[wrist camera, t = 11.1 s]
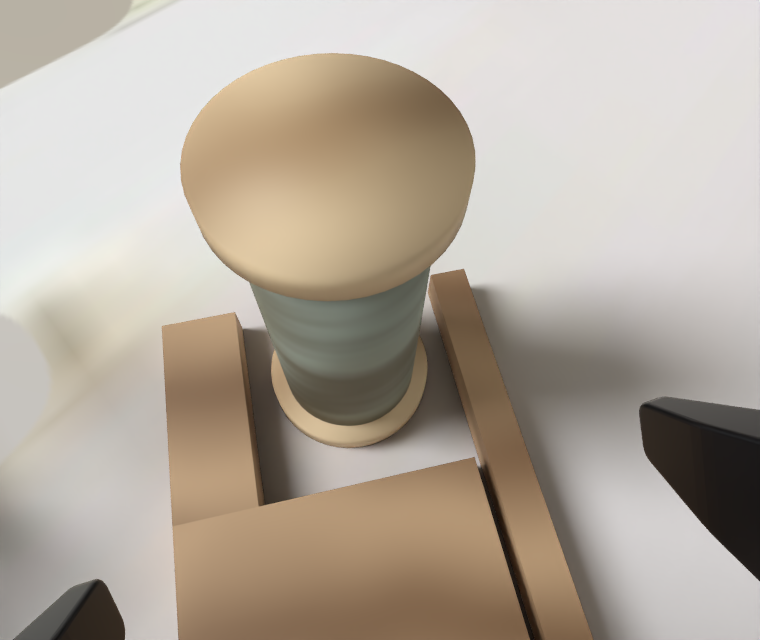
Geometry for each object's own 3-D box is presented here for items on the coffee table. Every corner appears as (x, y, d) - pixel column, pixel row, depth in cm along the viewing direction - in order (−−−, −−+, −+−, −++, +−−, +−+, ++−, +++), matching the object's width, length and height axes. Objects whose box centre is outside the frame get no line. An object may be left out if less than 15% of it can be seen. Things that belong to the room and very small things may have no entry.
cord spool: (456, 386, 24) (536, 172, 12) (332, 480, 22) (287, 336, 10) (365, 282, 26) (358, 20, 14) (246, 360, 24) (128, 130, 12)
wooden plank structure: (620, 761, 18) (740, 836, 12) (208, 886, 16) (116, 1040, 10) (459, 286, 26) (484, 193, 20) (173, 341, 24) (111, 258, 18)
